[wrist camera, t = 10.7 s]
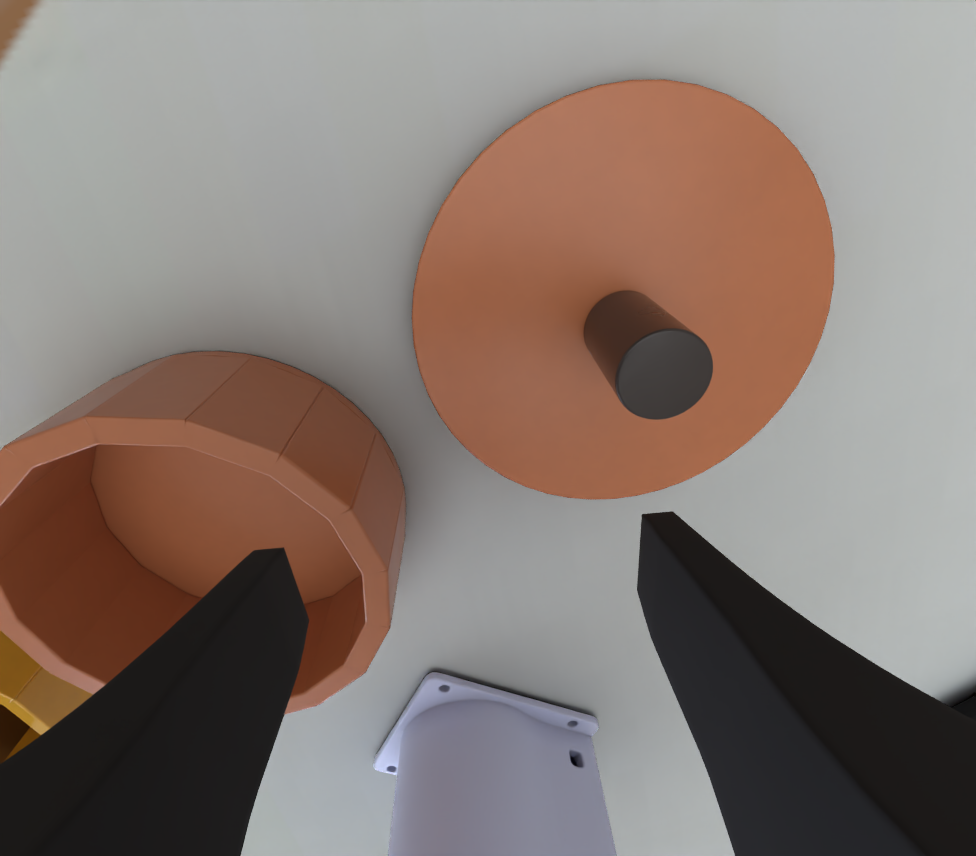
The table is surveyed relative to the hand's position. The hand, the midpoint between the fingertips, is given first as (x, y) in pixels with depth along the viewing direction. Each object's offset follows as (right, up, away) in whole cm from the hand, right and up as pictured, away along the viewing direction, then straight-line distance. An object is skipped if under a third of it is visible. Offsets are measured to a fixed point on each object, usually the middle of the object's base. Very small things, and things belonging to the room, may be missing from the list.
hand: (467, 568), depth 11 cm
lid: (+5, +6, +6) cm, 10 cm away
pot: (-9, 0, +9) cm, 13 cm away
